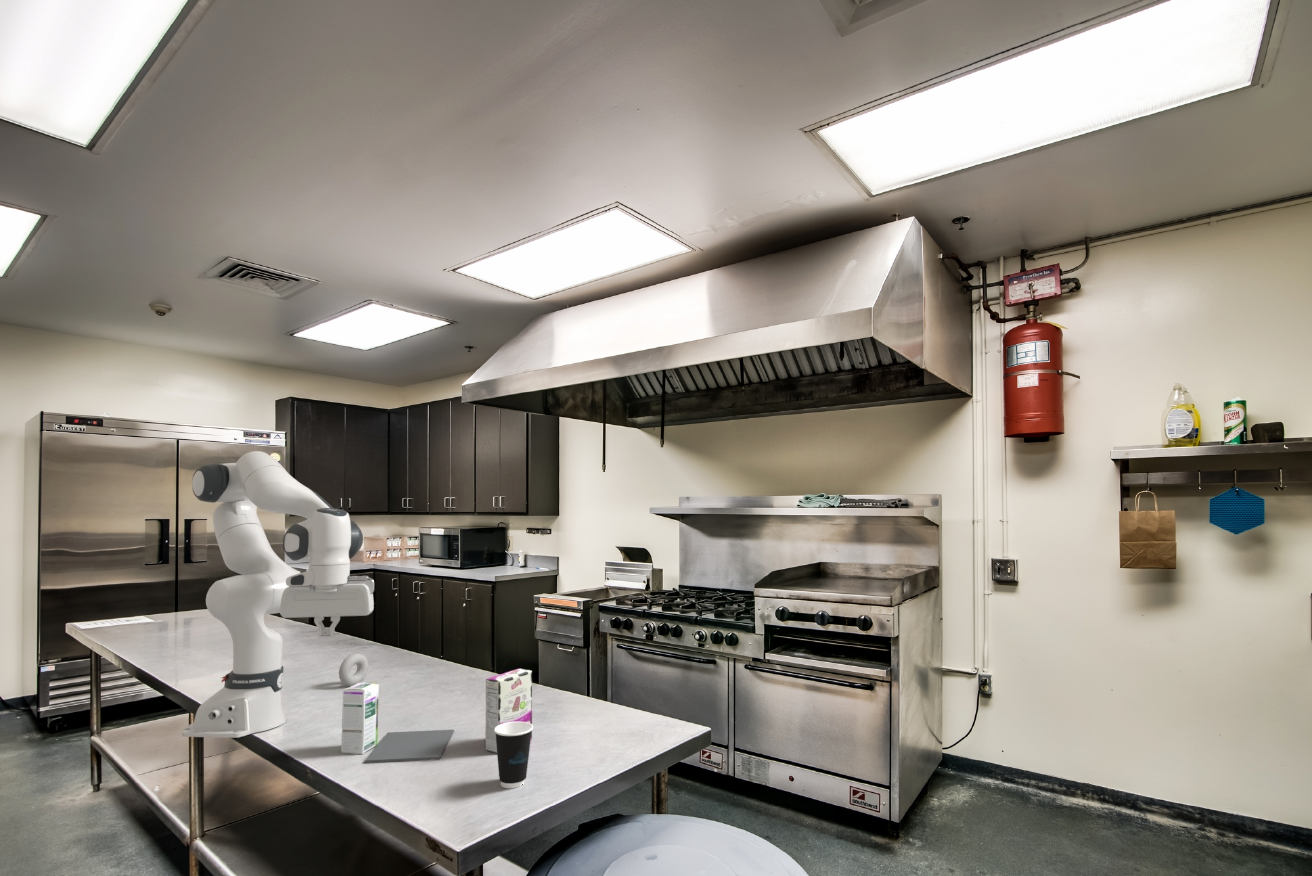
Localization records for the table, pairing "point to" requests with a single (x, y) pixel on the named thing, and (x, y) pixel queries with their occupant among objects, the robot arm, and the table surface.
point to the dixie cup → (513, 752)
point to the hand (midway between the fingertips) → (326, 635)
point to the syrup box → (360, 718)
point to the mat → (410, 746)
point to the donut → (347, 665)
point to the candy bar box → (507, 702)
